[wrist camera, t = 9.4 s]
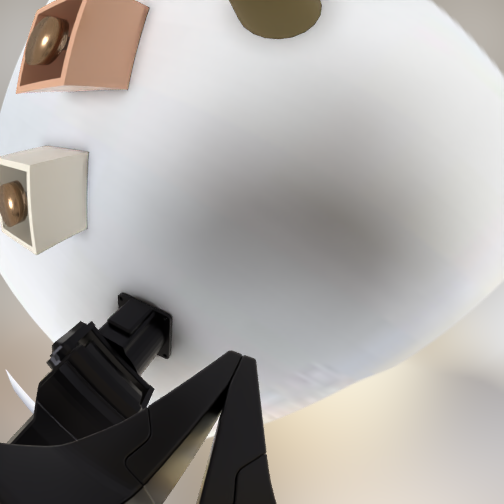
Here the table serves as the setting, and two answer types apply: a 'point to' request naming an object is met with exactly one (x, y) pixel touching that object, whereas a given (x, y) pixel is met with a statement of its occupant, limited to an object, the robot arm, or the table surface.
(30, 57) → the brown and grey plunger
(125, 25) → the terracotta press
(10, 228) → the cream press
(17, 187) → the round copper knob
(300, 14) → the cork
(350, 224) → the table surface
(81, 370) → the robot arm
